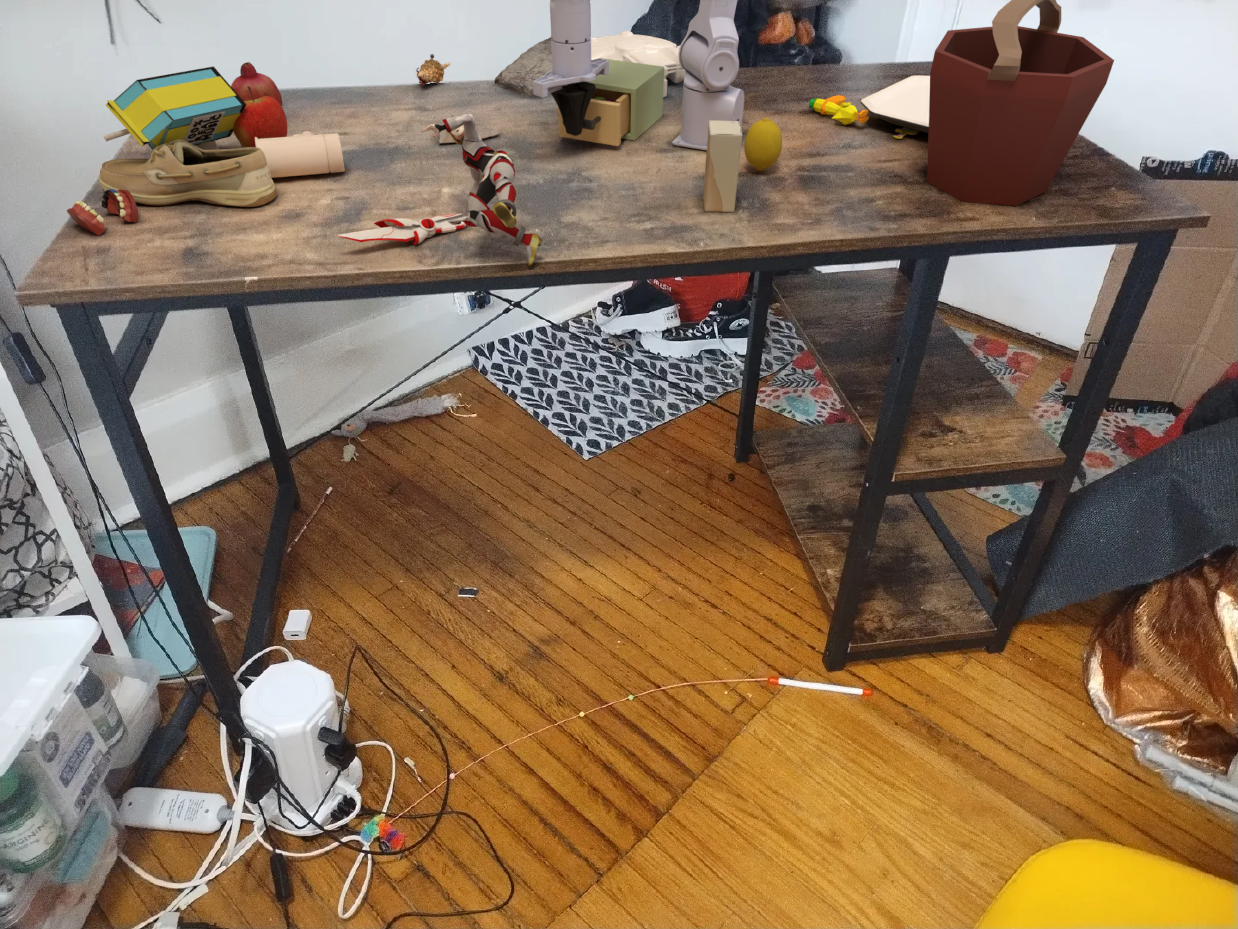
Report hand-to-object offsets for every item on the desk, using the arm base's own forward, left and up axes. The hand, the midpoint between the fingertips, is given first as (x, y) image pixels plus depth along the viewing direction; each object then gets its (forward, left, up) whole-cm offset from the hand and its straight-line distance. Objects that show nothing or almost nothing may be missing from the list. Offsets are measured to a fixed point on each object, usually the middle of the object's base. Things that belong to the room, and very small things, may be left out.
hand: (573, 133), depth 136 cm
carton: (+48, +21, +4) cm, 53 cm away
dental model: (+49, +50, -2) cm, 70 cm away
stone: (+18, -35, -3) cm, 39 cm away
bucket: (-59, -17, -4) cm, 62 cm away
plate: (-53, -42, -4) cm, 68 cm away
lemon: (-28, -7, -4) cm, 29 cm away
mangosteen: (0, -10, -2) cm, 10 cm away
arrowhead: (+24, +2, -3) cm, 24 cm away
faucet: (+41, +24, -1) cm, 47 cm away
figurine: (+41, -20, +2) cm, 46 cm away
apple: (+44, +18, -4) cm, 48 cm away
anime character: (-9, +43, -3) cm, 44 cm away
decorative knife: (-45, -35, -4) cm, 57 cm away
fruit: (+53, +9, -4) cm, 54 cm away
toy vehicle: (+7, -39, +3) cm, 40 cm away
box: (-26, +7, -4) cm, 27 cm away
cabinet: (0, -17, -4) cm, 17 cm away
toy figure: (-39, -30, -2) cm, 49 cm away
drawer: (0, -9, -3) cm, 9 cm away
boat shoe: (+44, +35, -4) cm, 56 cm away
